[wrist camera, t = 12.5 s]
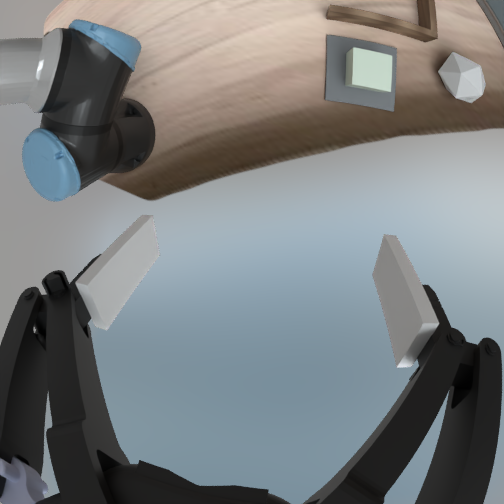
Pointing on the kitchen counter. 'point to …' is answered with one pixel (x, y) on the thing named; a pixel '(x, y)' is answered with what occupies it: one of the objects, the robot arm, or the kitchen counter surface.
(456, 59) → the die
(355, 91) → the mat
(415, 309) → the robot arm
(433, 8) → the brown u-shaped bracket
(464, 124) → the kitchen counter surface
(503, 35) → the toaster
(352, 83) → the block
